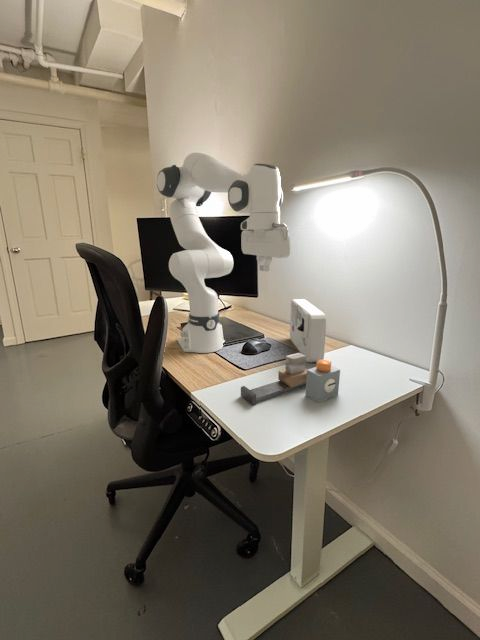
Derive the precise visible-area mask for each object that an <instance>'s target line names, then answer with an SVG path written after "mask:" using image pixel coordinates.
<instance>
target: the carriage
mask: <svg viewBox="0 0 480 640" xmlns="http://www.w3.org/2000/svg"><path fill="white" fill-rule="evenodd" d="M308 369H309V368H306V359H305V355H303V354H301V353H300V352H296V353H292V354H289V355H286V356H285V368H283V369H280V370H278V374H277V375H278V376H277V377H278V380H277V381H282V382H283V383H285V384H286V385H288V386H290V387H293V386H296V385H300V384H303V383H306V377H307V370H308Z"/></svg>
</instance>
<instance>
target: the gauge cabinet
mask: <svg viewBox="0 0 480 640" xmlns="http://www.w3.org/2000/svg"><path fill="white" fill-rule="evenodd" d="M307 369H308V370H307V377H306V387H305V396H306V397H308V398H309V399H311V400H312V401H315V402H316V403H321V402H324V401H326V400H328V399H332V398H334V397H336V396H339V390H340V389H339V388H340V377H341V375H340V374H341V369H340V368H338V367H336V366H333V365H331V371H329V372H321V371H318V370H317V369H316V366H314V367H312V368H307Z"/></svg>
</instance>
